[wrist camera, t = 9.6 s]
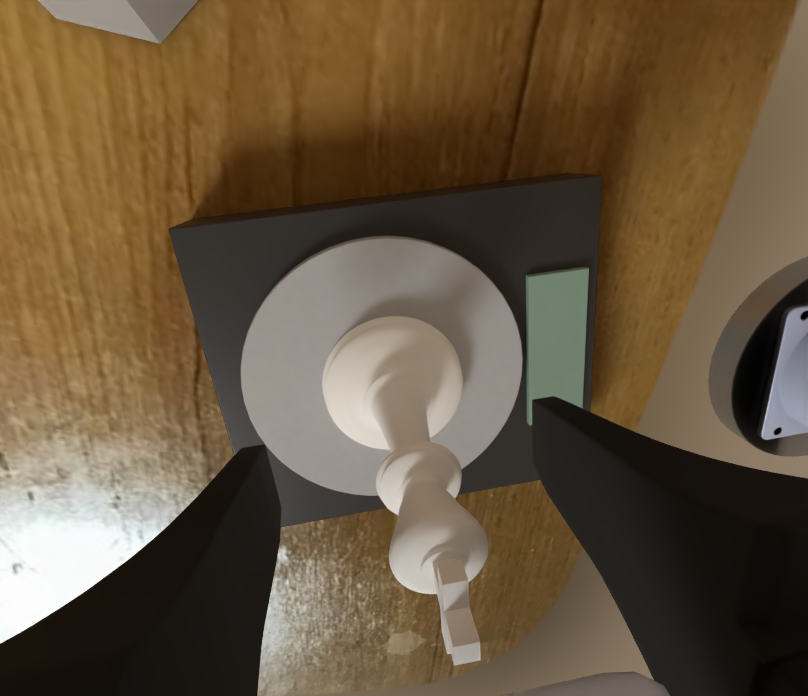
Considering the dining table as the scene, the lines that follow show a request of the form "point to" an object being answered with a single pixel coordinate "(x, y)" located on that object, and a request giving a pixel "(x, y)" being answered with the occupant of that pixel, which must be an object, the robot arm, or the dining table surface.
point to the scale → (397, 296)
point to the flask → (124, 15)
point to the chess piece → (413, 458)
